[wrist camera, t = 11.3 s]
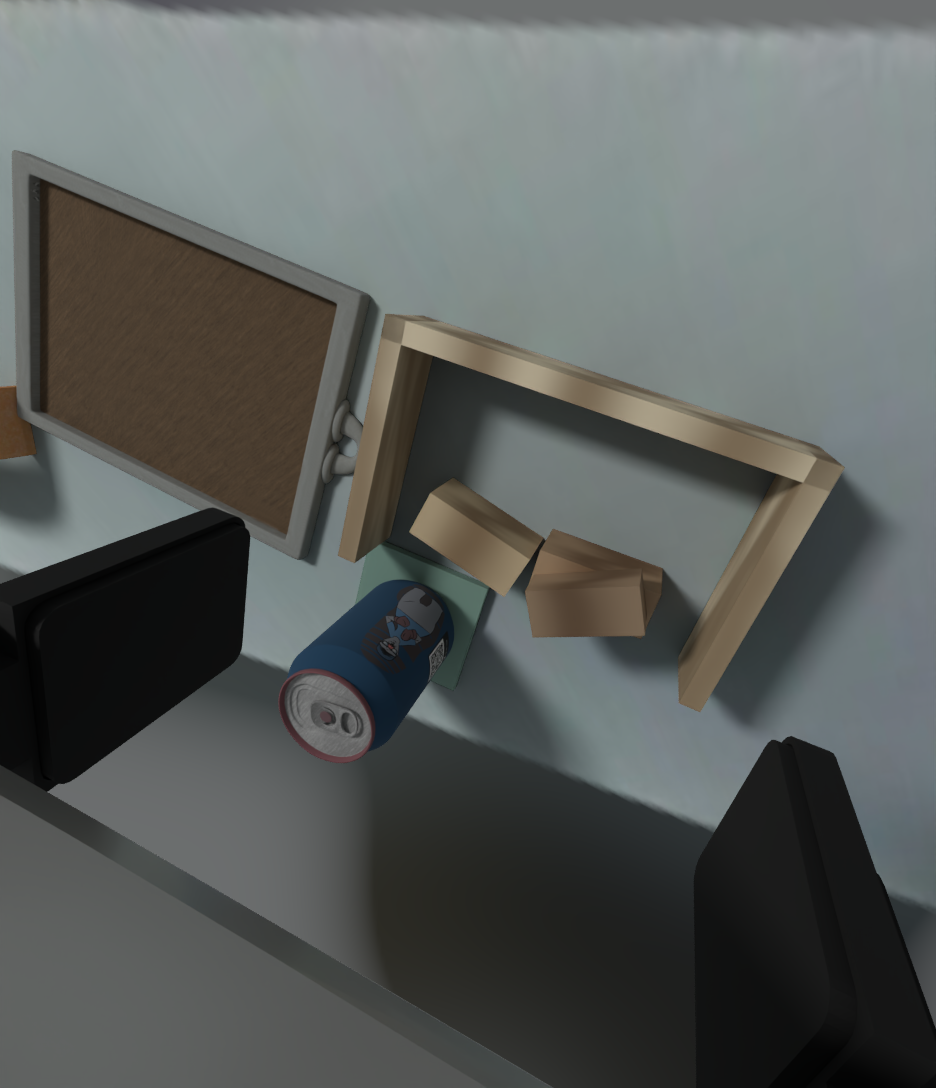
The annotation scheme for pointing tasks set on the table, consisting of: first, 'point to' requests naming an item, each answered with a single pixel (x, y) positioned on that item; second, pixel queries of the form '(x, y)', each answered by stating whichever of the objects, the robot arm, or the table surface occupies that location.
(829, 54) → the table surface
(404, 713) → the soda can
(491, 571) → the offcut
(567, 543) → the offcut
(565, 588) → the offcut top
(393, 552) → the mat
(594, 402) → the enclosure
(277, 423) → the framed cork board
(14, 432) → the arch
